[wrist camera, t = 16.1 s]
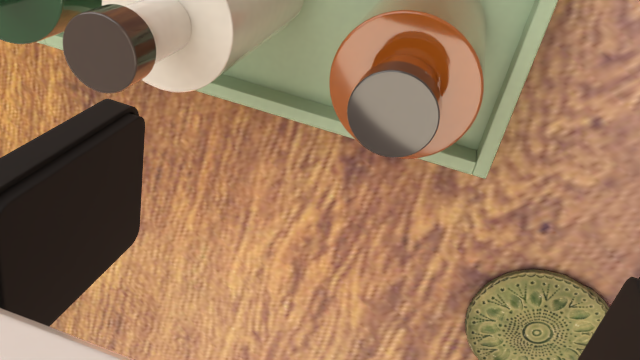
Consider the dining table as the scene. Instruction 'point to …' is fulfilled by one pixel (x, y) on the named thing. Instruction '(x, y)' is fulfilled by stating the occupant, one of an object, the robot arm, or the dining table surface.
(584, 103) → the dining table surface
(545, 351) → the medallion
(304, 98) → the tray
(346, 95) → the amber bottle
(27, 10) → the green glass bottle
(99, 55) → the frosted bottle
